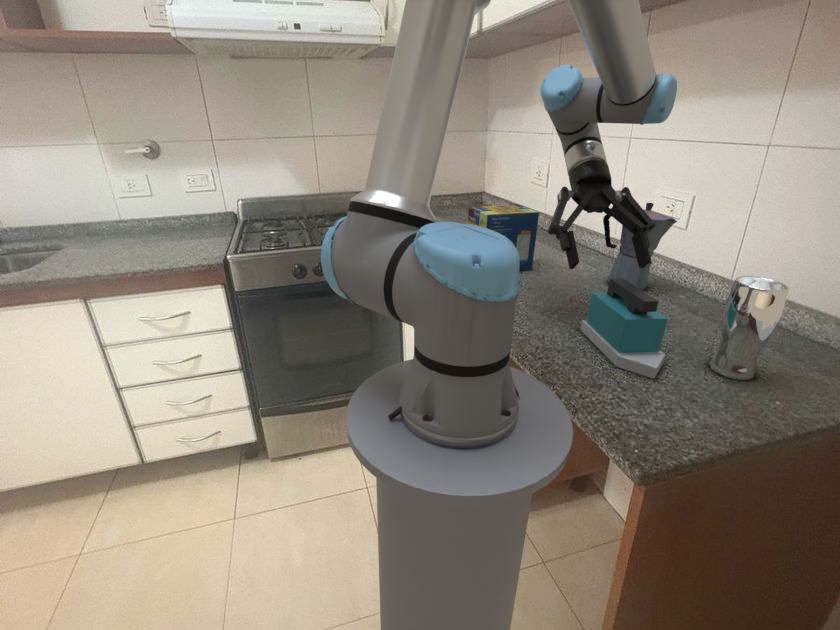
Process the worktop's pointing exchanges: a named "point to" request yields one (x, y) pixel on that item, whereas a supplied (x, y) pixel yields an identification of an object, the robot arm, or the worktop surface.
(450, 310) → the robot arm
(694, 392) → the worktop surface
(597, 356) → the worktop surface
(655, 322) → the teal slab with bar
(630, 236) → the moka pot
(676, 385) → the worktop surface
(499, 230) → the protein box
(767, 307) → the beer glass
